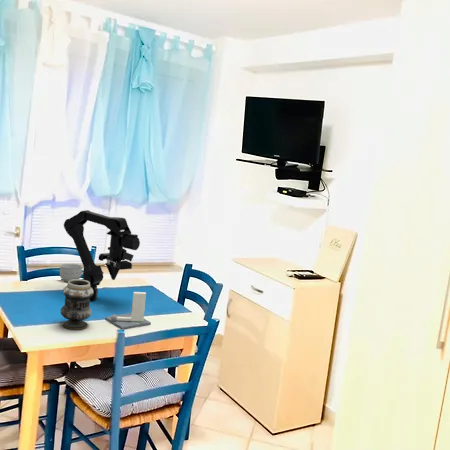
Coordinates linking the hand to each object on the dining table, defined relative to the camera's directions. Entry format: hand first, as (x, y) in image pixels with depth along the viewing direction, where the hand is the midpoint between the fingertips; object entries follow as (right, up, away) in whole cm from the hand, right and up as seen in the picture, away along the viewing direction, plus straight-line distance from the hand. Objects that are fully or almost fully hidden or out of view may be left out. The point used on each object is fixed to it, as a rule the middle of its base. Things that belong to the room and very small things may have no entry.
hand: (113, 279), depth 244 cm
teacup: (-27, -4, +32) cm, 42 cm away
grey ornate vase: (-10, -16, -27) cm, 33 cm away
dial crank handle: (+10, -15, -18) cm, 26 cm away
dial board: (+9, -16, -16) cm, 25 cm away
